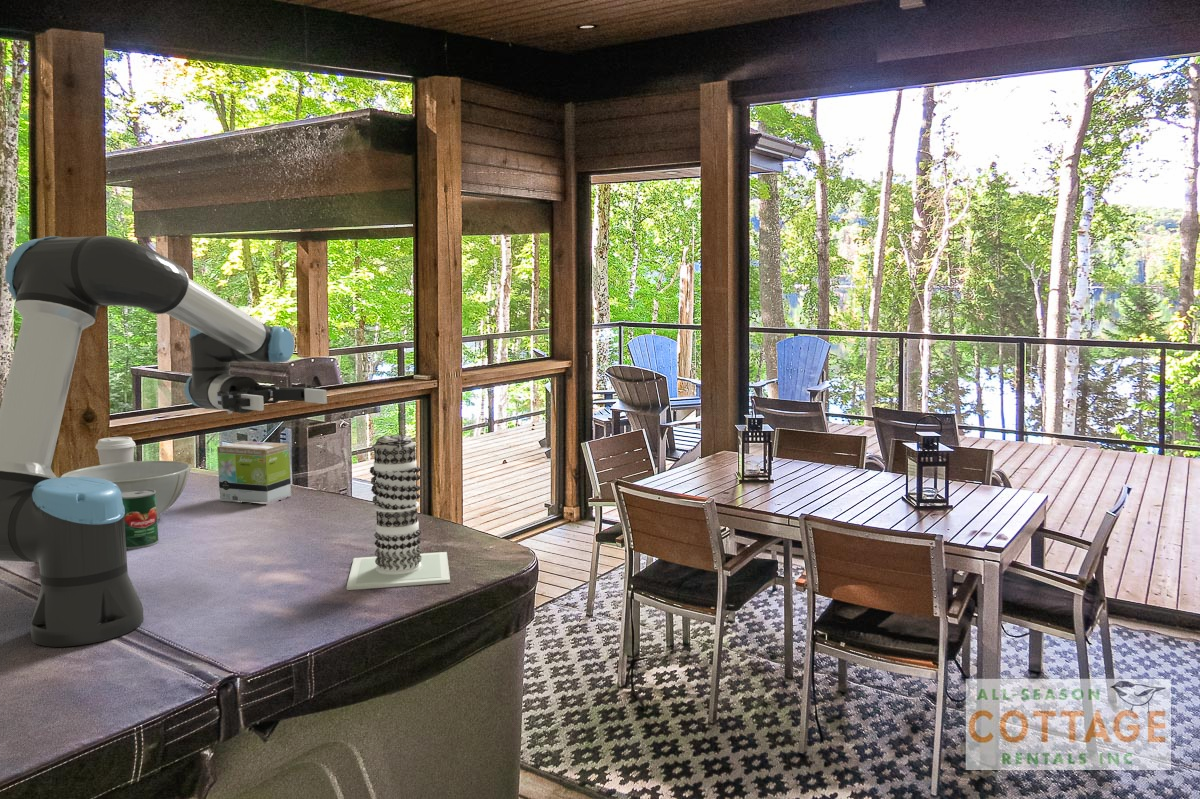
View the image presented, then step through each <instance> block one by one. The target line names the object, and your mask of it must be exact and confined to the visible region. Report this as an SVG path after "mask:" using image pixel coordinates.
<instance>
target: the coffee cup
mask: <svg viewBox="0 0 1200 799" xmlns="http://www.w3.org/2000/svg"><path fill="white" fill-rule="evenodd" d="M135 447H136V442H135V441H134V440H133V438H132V437H130V436H113V437H104V438H100V439H98V440H97V443H96V444H95V449H96V450H97V454H98V459H99V460H98V461H99V465H105V464H113V463H122V462H134V456H135V454H134V453H135V452H134V451H135Z"/></svg>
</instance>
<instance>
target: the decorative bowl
mask: <svg viewBox="0 0 1200 799" xmlns="http://www.w3.org/2000/svg"><path fill="white" fill-rule="evenodd" d="M190 473H191V465H190V464H189V463H187V462H182V461H176V460H175V461H174V460H139V461H138V460H137V461H133V462H122V463H113V464H105V465H100V464H98V465H93V466H87V467H82V468H78V469H74V470H71V471H68V472H65V473H63V474H62V475H60V477H93V478H100V479H104V480H108V481H111V482H113V483H114V484H116V485H117V486H118V487H119V489H120V491H121V492H123V491H129V490H138V489H151V490H155V491H156V493H155V494H156V507H157V508H156V509H157V521H158V520H160V518H161V514H163V512H165V511H167V510H168V509H169V508H171V507H172V505H174V504H175V502H176V501H177V500H178V499H179V497H180V496H181V495H182V492H183V491H184V489H185V487H186V485H187V482H188V480H189V477H190Z"/></svg>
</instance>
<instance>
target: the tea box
mask: <svg viewBox="0 0 1200 799" xmlns="http://www.w3.org/2000/svg"><path fill="white" fill-rule="evenodd" d="M216 448H217V450H216V451H217V453H216V454H217V466H218V467H217V468H218V486H219V489H218V490H219V500H220V502H231V501H240V502H239V503H242V502H270V501H273V500H276V499H280V498H283V497H287V496H292V488H291V487H292V485H291V466H290V465H291V464H290V463H291V462H290V461H291V460H290V444H289V443H284V442H282V443H281V442H270V441H269V442H268V441H267V442H266V441H250V440H249V441H248V440H240V441H237V442H234V443H233V442H232V443H229V444H224V445H221V446H217V447H216ZM241 501H242V502H241Z"/></svg>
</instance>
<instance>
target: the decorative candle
mask: <svg viewBox="0 0 1200 799" xmlns="http://www.w3.org/2000/svg"><path fill="white" fill-rule="evenodd" d="M416 445H417V443H416V442H414V441H413V440H412V438H411V437H410V436H409V435H405V434H389V435H383V436H380V437H378V438H377V440H376V442H375V443H374V444H371V447H372V448H373V451H374V452H373V453H374V454H373V455H374V456H373V459H374V460H373V465H372V466H370V469H369V473H370V474H371V475H372V476H373V477H371V478H370V484H371V485H372V487H371V490H370V491H371V492H372V494H373V495H374V496H373V497H372V503H373V504H374V505H373V510H374V511H376V523H375V533H374V537H375V539H376V540H375V542H374V545H375V547H376V549H375V550H374V556H375V557H377V558H376V560H375V563H376V564H377V566H376V571H377V572H379V573H382V574H389V575H398V574H406V573H411V572H414V571H417V570H419V569H420V568H421V562H420V561H421V558H422V556H421V555H420V554H422V547H421V546H420V545H419V544H420V543H421V541H422V540H421V538H420V536H421V533H422V531H421V530H420V527H419V525H420V524H419V519H418V508H420V502H419V501H417V500H419V499H420V498H421V495H420V494H419V493H417V492H418V491H420V490H421V486H419V485H418V484H416V482H418V481H419V480H421V477H422V476H420V475H419V474H418V473H420V472H421V470H422V468H421V467H420V466H418V465H417V464H418V463H417V459H416Z"/></svg>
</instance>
